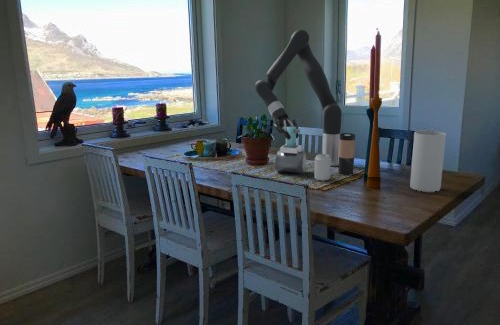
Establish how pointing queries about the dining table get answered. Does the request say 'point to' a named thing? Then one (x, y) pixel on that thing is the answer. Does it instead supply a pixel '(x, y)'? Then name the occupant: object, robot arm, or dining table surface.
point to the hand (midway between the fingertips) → (293, 137)
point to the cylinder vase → (427, 160)
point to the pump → (292, 133)
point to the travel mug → (346, 153)
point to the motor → (290, 159)
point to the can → (322, 167)
